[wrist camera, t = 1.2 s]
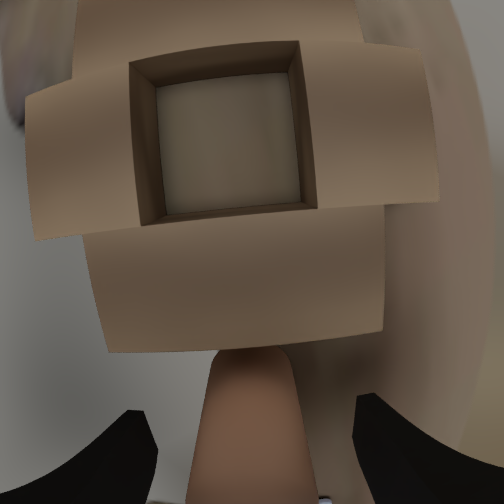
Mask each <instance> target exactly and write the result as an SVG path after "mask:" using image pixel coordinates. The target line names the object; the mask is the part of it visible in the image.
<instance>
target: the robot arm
mask: <svg viewBox="0 0 504 504" xmlns="http://www.w3.org/2000/svg"><path fill="white" fill-rule="evenodd" d="M352 438H353V443H354V447H355V451H356V454H357V458H358V462H359V464H360V467H361V469H362V472H363V474H364V477H365V479H366V481H367V484H368V486H369V489H370V491H371V494H372V496H373V499H374V501H375V504H504V468H503V467H498V466H495V465H491V464H488V463H485V462H482V461H479V460H477V459H474V458H471V457H469V456H466V455H464V454H461V453H459V452H458V451H456V450H454V449H452V448H450V447H448V446H446V445H444V444H442V443H440V442H439V441H437V440H435V439H434V438H432V437H431V436H429V435H427V434H426V433H424V432H423V431H421V430H420V429H419V428H417V427H416V426H415V425H413V424H412V423H411V422H409V421H408V420H407V419H405V418H404V417H403V416H401V415H400V414H399V413H398V412H397V411H395V410H394V409H393V408H392V407H391V406H389V405H388V404H387V403H386V402H385V401H383V400H382V399H381V398H380V397H379V396H377V395H376V394H375V393H369V394H364V395H359V396H357V399H356V409H355V418H354V426H353V434H352ZM157 455H158V448H157V445H156V443H155V441H154V438H153V435H152V433H151V430H150V427H149V425H148V422H147V420H146V417H145V414H144V411H139V410H138V411H137V410H127V411H126V412H125V413H124V414H122V415H121V416H120V417H119V418H118V419H117V420H116V421H115V422H114V423H113V424H112V425H110V426H109V427H108V428H107V429H106V430H105V431H104V432H103V433H102V434H101V435H100V436H99V437H97V438H96V439H95V440H94V441H93V442H92V443H91V444H89V445H88V446H87V447H85V448H84V449H83V450H82V451H80V452H79V453H78V454H77V455H75V456H74V457H73V458H71V459H70V460H69V461H67V462H66V463H64V464H63V465H61V466H60V467H58V468H57V469H55V470H53V471H52V472H50V473H48V474H46V475H45V476H43V477H41V478H39V479H37V480H34V481H32V482H30V483H28V484H26V485H24V486H21V487H19V488H16V489H13V490H10V491H7V492H4V493H1V494H0V504H145V503H146V500H147V496H148V494H149V490H150V487H151V484H152V481H153V477H154V474H155V468H156V463H157ZM319 504H332V501H331V500H330V499H319Z"/></svg>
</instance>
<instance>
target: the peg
mask: <svg viewBox="0 0 504 504" xmlns="http://www.w3.org/2000/svg"><path fill="white" fill-rule="evenodd" d="M185 501H186V504H319V497H318V492H317V487H316V482H315V477H314V472H313V467H312V462H311V457H310V452H309V447H308V442H307V438H306V433H305V428H304V423H303V418H302V414H301V409H300V404H299V399H298V395H297V390H296V385H295V381H294V376H293V371H292V367H291V363H290V360H289V358H288V357H287V355H286V354H285V353H284V352H283V350H281V349H280V348H279V347H278V346H276V345H272V346H262V347H250V348H237V349H222V350H220V351H219V352H218V353H217V354H216V356H215V357H214V359H213V361H212V364H211V369H210V374H209V379H208V384H207V389H206V394H205V399H204V404H203V410H202V414H201V419H200V425H199V430H198V436H197V441H196V446H195V451H194V457H193V462H192V467H191V472H190V478H189V483H188V489H187V494H186V500H185Z"/></svg>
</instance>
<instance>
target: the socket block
mask: <svg viewBox="0 0 504 504" xmlns="http://www.w3.org/2000/svg"><path fill="white" fill-rule="evenodd" d="M275 72H288V77H289V85H290V93H291V101H292V110H293V119H294V128H295V137H296V147H297V158H298V168H299V180H300V191H301V202H296V203H284V204H272V205H261V206H250V207H240V208H230V209H220V210H210V211H201V212H192V213H183V214H175V215H167V216H166V207H165V199H164V190H163V180H162V170H161V160H160V148H159V136H158V122H157V106H156V87H160V86H165V85H171V84H177V83H183V82H189V81H196V80H202V79H210V78H218V77H226V76H236V75H247V74H259V73H275ZM25 148H26V167H27V181H28V192H29V201H30V210H31V217H32V224H33V231H34V237H35V241H40V240H47V239H53V238H60V237H67V236H73V235H81V234H82V236H83V242H84V248H85V253H86V259H87V264H88V269H89V274H90V279H91V284H92V288H93V293H94V297H95V302H96V306H97V310H98V313H99V318H100V322H101V325H102V329H103V333H104V337H105V340H106V344H107V347H108V351H109V352H183V351H204V350H222V349H237V348H250V347H262V346H272V345H282V344H292V343H301V342H309V341H317V340H325V339H332V338H340V337H347V336H353V335H360V334H366V333H372V332H378V331H383V316H384V294H385V214H384V204H401V203H421V202H439V179H438V163H437V151H436V141H435V132H434V124H433V117H432V110H431V103H430V97H429V91H428V85H427V80H426V75H425V70H424V65H423V60H422V56H421V52H420V50H419V49H413V48H407V47H400V46H392V45H383V44H373V43H364V40H363V35H362V31H361V26H360V22H359V18H358V14H357V10H356V6H355V2H354V0H79V1H78V8H77V16H76V25H75V36H74V48H73V65H72V79H70V80H67V81H65V82H62V83H59V84H56V85H54V86H51V87H48V88H46V89H43V90H41V91H38V92H36V93H33V94H31V95H29V96H26V100H25Z"/></svg>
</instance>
